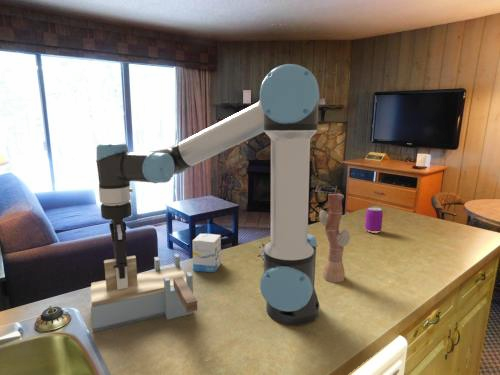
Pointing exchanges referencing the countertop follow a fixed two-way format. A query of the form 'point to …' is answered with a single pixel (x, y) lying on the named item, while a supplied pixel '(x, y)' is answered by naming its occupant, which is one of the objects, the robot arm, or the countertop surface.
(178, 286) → the cross bar
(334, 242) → the vase
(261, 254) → the game die
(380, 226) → the beverage can
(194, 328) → the countertop surface
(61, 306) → the countertop surface
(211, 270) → the ink box
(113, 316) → the grey box with brackets
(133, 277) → the lid
